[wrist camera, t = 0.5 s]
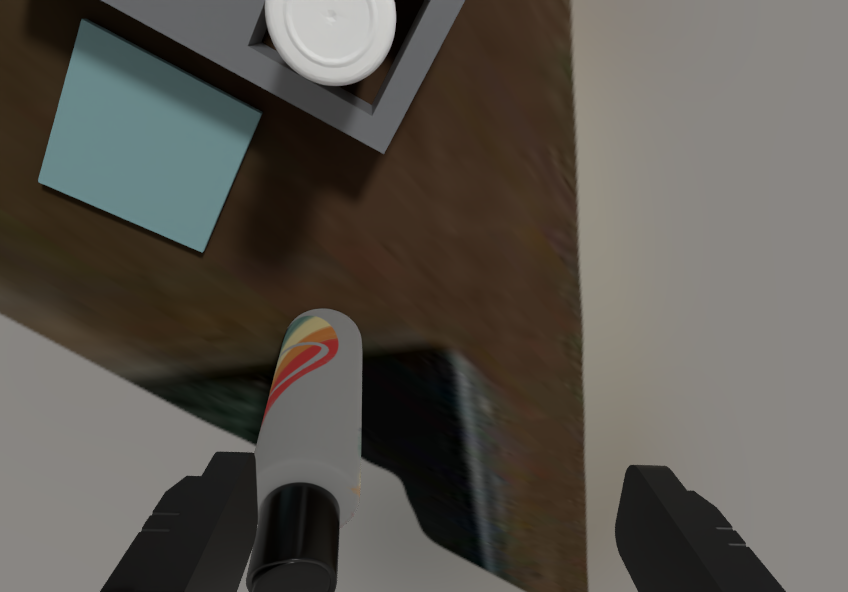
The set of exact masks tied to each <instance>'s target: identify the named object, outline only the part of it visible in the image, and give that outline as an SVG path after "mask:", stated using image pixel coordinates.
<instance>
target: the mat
mask: <svg viewBox="0 0 848 592" xmlns="http://www.w3.org/2000/svg"><path fill="white" fill-rule="evenodd" d="M262 113H263V112H262V111H260V110H258V109H256V108H254V107H252V106H250V105H248V104H247V103H245V102H243V101H241V100H239V99H237V98H235V97H233V96H231V95H230V94H228V93H226V92H224V91H222V90H220V89H218V88H216V87H214V86H213V85H211V84H209V83H207V82H205V81H203V80H201V79H199V78H197V77H196V76H194V75H192V74H190V73H188V72H186V71H184V70H182V69H180V68H179V67H177V66H175V65H173V64H171V63H169V62H167V61H165V60H163V59H162V58H160V57H158V56H156V55H154V54H152V53H150V52H148V51H146V50H145V49H143V48H141V47H139V46H137V45H135V44H133V43H131V42H129V41H128V40H126V39H124V38H122V37H120V36H118V35H116V34H114V33H112V32H111V31H109V30H107V29H105V28H103V27H101V26H99V25H97V24H95V23H94V22H92V21H90V20H88V19H81V23H80V27H79V31H78V34H77V38H76V42H75V45H74V49H73V53H72V57H71V60H70V64H69V68H68V71H67V75H66V79H65V83H64V86H63V90H62V94H61V98H60V101H59V105H58V109H57V112H56V116H55V120H54V124H53V127H52V131H51V135H50V138H49V142H48V146H47V150H46V153H45V157H44V161H43V164H42V168H41V172H40V176H39V179H38V182H39V183H42V184H44V185H46V186H49V187H51V188H53V189H56V190H58V191H60V192H63V193H65V194H67V195H70V196H72V197H74V198H77V199H79V200H81V201H84V202H86V203H88V204H91V205H93V206H95V207H98V208H100V209H102V210H104V211H107V212H109V213H111V214H114V215H116V216H118V217H121V218H123V219H125V220H128V221H130V222H132V223H135V224H137V225H139V226H142V227H144V228H146V229H149V230H151V231H153V232H156V233H158V234H160V235H163V236H165V237H167V238H170V239H172V240H174V241H176V242H179V243H181V244H183V245H186V246H188V247H190V248H193V249H195V250H197V251H200V252H202V253H203V251H204V250H205V248H206V246H207V243H208V241H209V239H210V236H211V234H212V232H213V229H214V227H215V224H216V222H217V220H218V217H219V215H220V213H221V210H222V208H223V205H224V203H225V201H226V198H227V196H228V194H229V191H230V189H231V186H232V184H233V182H234V179H235V177H236V175H237V172H238V170H239V168H240V165H241V163H242V160H243V158H244V156H245V153H246V151H247V149H248V146H249V144H250V141H251V139H252V137H253V134H254V132H255V130H256V127H257V125H258V122H259V120H260V118H261V115H262Z"/></svg>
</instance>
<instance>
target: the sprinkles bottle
mask: <svg viewBox="0 0 848 592" xmlns="http://www.w3.org/2000/svg"><path fill="white" fill-rule="evenodd" d="M265 18H266V24H267V28H268V32H269V34H270V37H271V40H272V42H273V44H274V46H275V48H276V50H277V51H278V53H279V54H280V56H281V57H282V59H283V60H284V61H285V62H286V63H287V64H288V65H289V66H290V67H291V68H292V69H293V70H294V71H296V72H297V73H298V74H300V75H301V76H303V77H304V78H306V79H308V80H310V81H313V82H316V83H318V84H322V85H328V86H343V85H349V84H352V83H356V82H358V81H360V80H362V79H364V78H366V77H367V76H369V75H370V74H372V73H373V72H374V71H375V70H376V69H377V68H378V67H379V66H380V65H381V63H382V62H383V61H384V59H385V58H386V56H387V54H388V52H389V50H390V48H391V45H392V42H393V39H394V35H395V28H396V8H395V2H394V0H265Z"/></svg>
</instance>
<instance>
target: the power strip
mask: <svg viewBox="0 0 848 592" xmlns="http://www.w3.org/2000/svg"><path fill="white" fill-rule="evenodd" d="M101 1H103V2H105V3H107V4H109V5H110V6H112V7H114V8H116V9H118V10H120V11H122V12H123V13H125V14H127V15H129V16H131V17H133V18H134V19H136V20H138V21H140V22H142V23H144V24H145V25H147V26H149V27H151V28H153V29H155V30H156V31H158V32H160V33H162V34H164V35H166V36H168V37H169V38H171V39H173V40H175V41H177V42H179V43H180V44H182V45H184V46H186V47H188V48H190V49H191V50H193V51H195V52H197V53H199V54H201V55H202V56H204V57H206V58H208V59H210V60H212V61H214V62H215V63H217V64H219V65H221V66H223V67H225V68H226V69H228V70H230V71H232V72H234V73H236V74H237V75H239V76H241V77H243V78H245V79H247V80H248V81H250V82H252V83H254V84H256V85H258V86H259V87H261V88H263V89H265V90H267V91H269V92H271V93H272V94H274V95H276V96H278V97H280V98H282V99H283V100H285V101H287V102H289V103H291V104H293V105H294V106H296V107H298V108H300V109H302V110H304V111H305V112H307V113H309V114H311V115H313V116H315V117H317V118H318V119H320V120H322V121H324V122H326V123H328V124H329V125H331V126H333V127H335V128H337V129H339V130H340V131H342V132H344V133H346V134H348V135H350V136H351V137H353V138H355V139H357V140H359V141H361V142H363V143H364V144H366V145H368V146H370V147H372V148H374V149H375V150H377V151H379V152H381V153H383V154H384V153H385V151H386V149H387V147H388V145H389V143H390V142H391V140H392V138H393V136H394V134H395V132H396V130H397V128H398V126H399V125H400V123H401V121H402V119H403V117H404V115H405V113H406V111H407V109H408V107H409V106H410V104H411V102H412V100H413V98H414V96H415V94H416V92H417V90H418V88H419V87H420V85H421V83H422V81H423V79H424V77H425V75H426V73H427V71H428V70H429V68H430V66H431V64H432V62H433V60H434V58H435V56H436V54H437V52H438V51H439V49H440V47H441V45H442V43H443V41H444V39H445V37H446V35H447V33H448V32H449V30H450V28H451V26H452V24H453V22H454V20H455V18H456V16H457V15H458V13H459V11H460V9H461V7H462V5H463V3H464V1H465V0H424V1H423V3H422V5H421V7H420V9H419V11H418V13H417V15H416V17H415V19H414V21H413V23H412V25H411V27H410V29H409V31H408V33H407V35H406V37H405V39H404V41H403V43H402V45H401V47H400V49H399V51H398V53H397V55H396V57H395V59H394V61H393V63H392V65H391V67H390V69H389V71H388V73H387V75H386V77H385V79H384V81H383V83H382V85H381V87H380V89H379V91H378V93H377V95H376V97H375V99H374V101H373V103H372V105H370V104H369V103H367V102H365V101H363V100H362V99H360V98H358V97H356V96H355V95H353V94H351V93H349V92H348V91H346V90H344V89H342V88H341V87H339V86H328V85H322V84H318V83H316V82H313V81H310V80H308V79H306V78H304V77H303V76H301V75H300V74H298V73H297V72H296V71H294V70H293V69H292V68H291V67H290V66H289V65H288V64H287V63H286V62H285V61H284V60H283V59H282V57H281V56H280V54H279V53H278V52H277V51H276V50H274V49H272V48H270V47H269V46H267V45H265V44H263V43H262V39H263V37H264V34H265V32H266V29H267V24H266V18H265V0H101Z"/></svg>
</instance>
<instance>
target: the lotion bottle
mask: <svg viewBox="0 0 848 592" xmlns="http://www.w3.org/2000/svg"><path fill="white" fill-rule="evenodd" d="M361 408H362V340H361V335H360V332H359V330H358V328H357V326H356V324H355V323H354V322H353V321H352V320H351V319H350V318H349V317H347V316H346V315H344V314H343V313H341V312H338V311H335V310H331V309H314V310H310V311H307V312H305V313H303V314H301V315H299V316H298V317H297V318H295V319H294V320H293V322H292V323H291V324H290V326H289V327H288V329H287V331H286V334H285V337H284V340H283V344H282V347H281V351H280V355H279V359H278V363H277V367H276V371H275V374H274V378H273V382H272V386H271V390H270V394H269V398H268V402H267V406H266V410H265V414H264V417H263V421H262V425H261V429H260V433H259V437H258V441H257V445H256V449H255V453H254V455H255V459H256V477H257V501H258V527H257V531H256V537H255V541H254V545H253V550H252V554H251V560H250V564H249V568H248V573H247V578H246V586H247V589H248V591H249V592H335V589H336V584H337V571H338V550H339V529H340V528H342V527H343V526H344V525H345V524H347V522H349V521H350V520H351V518H352V517H353V516H354V514H355V512H356V510H357V507H358V504H359V499H360V478H361Z"/></svg>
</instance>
